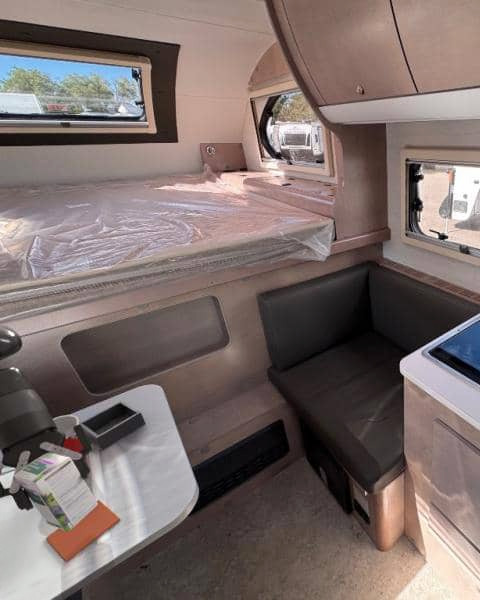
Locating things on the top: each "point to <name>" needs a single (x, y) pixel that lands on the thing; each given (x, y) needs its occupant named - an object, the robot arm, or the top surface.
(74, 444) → the plastic cup
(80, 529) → the mat
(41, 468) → the syrup box
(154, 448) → the top surface
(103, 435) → the caddy
